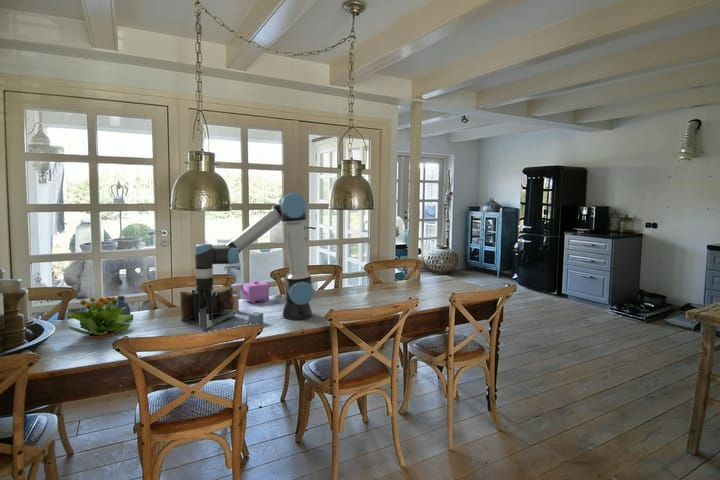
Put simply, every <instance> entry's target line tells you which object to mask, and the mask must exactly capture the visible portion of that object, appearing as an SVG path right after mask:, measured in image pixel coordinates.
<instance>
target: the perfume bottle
mask: <svg viewBox="0 0 720 480" xmlns="http://www.w3.org/2000/svg"><path fill="white" fill-rule="evenodd" d="M116 299H118V302H117V305H116V304H115V305H116V306H115V305H114V308H115V309H116V308H121V309H122V308H124V307H126V309H124V310H123V311H124V312H123V313H121V315H124V314H126V315H129V314H130V315H131V307H130V306H129V304H128V302H126V298H125V295H119V296H117V298H116Z"/></svg>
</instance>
